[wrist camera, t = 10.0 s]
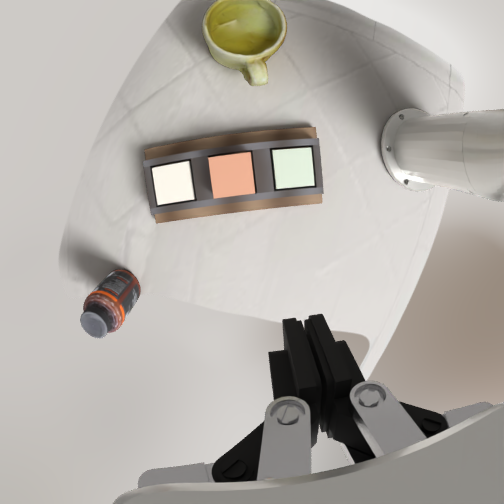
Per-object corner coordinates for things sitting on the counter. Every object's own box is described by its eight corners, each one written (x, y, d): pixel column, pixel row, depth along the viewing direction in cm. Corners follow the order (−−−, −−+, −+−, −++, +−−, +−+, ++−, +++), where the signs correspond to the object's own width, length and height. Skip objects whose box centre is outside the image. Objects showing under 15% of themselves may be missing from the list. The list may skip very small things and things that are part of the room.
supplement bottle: (104, 268, 39) (67, 303, 28) (137, 267, 39) (106, 304, 28) (112, 302, 41) (82, 343, 30) (145, 302, 41) (119, 346, 30)
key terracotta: (249, 152, 31) (250, 152, 29) (254, 191, 33) (255, 193, 30) (210, 157, 31) (208, 157, 29) (215, 195, 33) (213, 198, 30)
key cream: (192, 161, 33) (188, 161, 31) (197, 196, 35) (193, 199, 32) (157, 167, 33) (151, 168, 31) (163, 201, 35) (157, 205, 32)
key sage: (306, 148, 33) (311, 147, 31) (309, 183, 34) (314, 185, 32) (270, 150, 33) (272, 150, 31) (274, 186, 34) (276, 188, 32)
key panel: (313, 128, 33) (320, 125, 30) (319, 201, 36) (327, 206, 33) (147, 149, 33) (138, 149, 30) (158, 221, 37) (151, 227, 33)
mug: (192, 12, 25) (208, -16, 17) (264, 16, 28) (298, -5, 20) (192, 91, 32) (207, 84, 23) (265, 90, 35) (300, 87, 26)
